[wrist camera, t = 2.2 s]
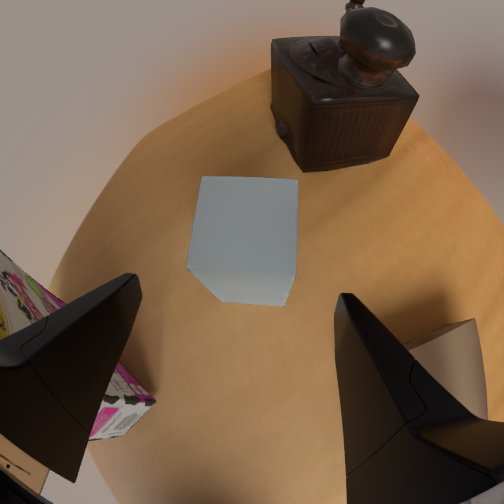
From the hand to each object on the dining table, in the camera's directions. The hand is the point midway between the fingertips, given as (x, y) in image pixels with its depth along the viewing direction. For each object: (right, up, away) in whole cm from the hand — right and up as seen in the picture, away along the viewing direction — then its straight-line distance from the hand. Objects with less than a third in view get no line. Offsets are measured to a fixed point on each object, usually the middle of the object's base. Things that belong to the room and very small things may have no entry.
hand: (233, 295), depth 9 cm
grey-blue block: (+1, 0, +14) cm, 14 cm away
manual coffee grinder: (+9, +12, +18) cm, 23 cm away
